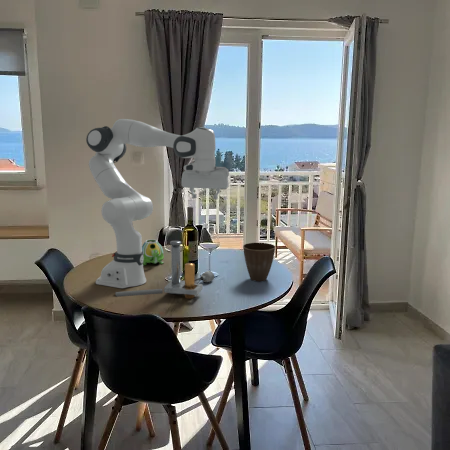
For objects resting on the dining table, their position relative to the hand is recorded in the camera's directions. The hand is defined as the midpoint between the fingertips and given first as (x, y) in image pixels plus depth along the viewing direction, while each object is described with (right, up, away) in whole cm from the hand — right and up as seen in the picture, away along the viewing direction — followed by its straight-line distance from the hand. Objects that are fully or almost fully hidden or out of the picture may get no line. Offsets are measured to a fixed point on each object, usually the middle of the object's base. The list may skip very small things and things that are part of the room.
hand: (204, 198), depth 189 cm
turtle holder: (-29, -32, +42) cm, 60 cm away
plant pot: (+24, -37, +17) cm, 47 cm away
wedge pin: (-6, -41, -8) cm, 42 cm away
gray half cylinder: (-28, -41, -4) cm, 50 cm away
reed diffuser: (-4, -39, +7) cm, 40 cm away
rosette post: (-8, -41, -5) cm, 42 cm away
